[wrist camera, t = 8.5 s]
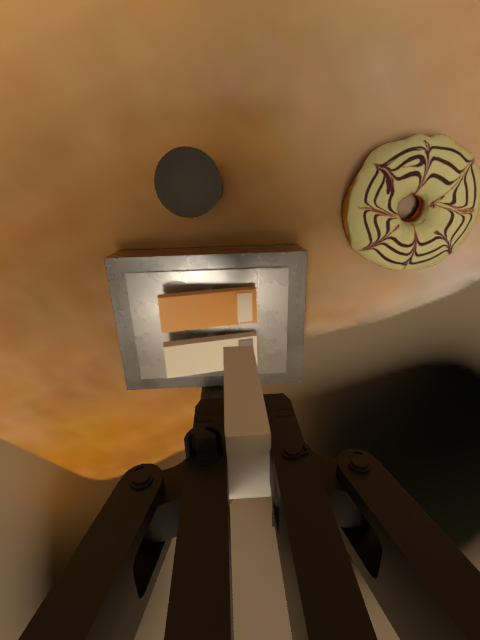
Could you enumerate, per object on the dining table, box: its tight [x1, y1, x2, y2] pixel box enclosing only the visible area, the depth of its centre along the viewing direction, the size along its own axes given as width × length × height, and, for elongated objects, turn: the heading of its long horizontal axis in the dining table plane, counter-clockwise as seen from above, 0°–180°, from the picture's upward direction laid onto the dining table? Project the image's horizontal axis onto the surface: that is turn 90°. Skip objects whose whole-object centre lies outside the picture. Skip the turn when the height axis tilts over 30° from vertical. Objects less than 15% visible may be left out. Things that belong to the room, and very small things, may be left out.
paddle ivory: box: [163, 331, 257, 379], centre depth 28 cm, size 8×3×1 cm, turn 92°
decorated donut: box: [342, 134, 480, 270], centre depth 28 cm, size 10×11×4 cm
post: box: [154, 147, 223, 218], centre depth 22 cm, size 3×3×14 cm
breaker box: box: [104, 244, 307, 390], centre depth 30 cm, size 16×12×5 cm
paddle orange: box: [157, 286, 257, 333], centre depth 26 cm, size 8×3×1 cm, turn 92°
